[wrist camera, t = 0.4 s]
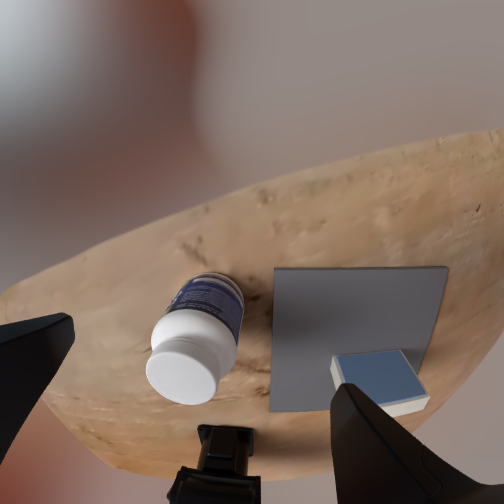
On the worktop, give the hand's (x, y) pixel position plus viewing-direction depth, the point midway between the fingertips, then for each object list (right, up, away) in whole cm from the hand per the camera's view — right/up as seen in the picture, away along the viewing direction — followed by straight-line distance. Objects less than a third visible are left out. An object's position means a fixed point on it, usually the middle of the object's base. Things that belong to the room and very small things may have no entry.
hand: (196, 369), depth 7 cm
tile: (+12, -7, +15) cm, 21 cm away
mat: (+11, -5, +15) cm, 20 cm away
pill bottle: (-2, -1, +15) cm, 15 cm away
